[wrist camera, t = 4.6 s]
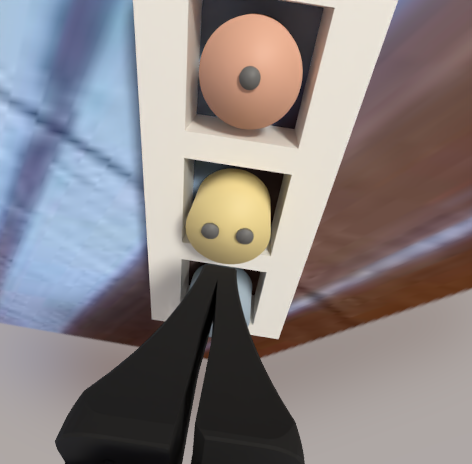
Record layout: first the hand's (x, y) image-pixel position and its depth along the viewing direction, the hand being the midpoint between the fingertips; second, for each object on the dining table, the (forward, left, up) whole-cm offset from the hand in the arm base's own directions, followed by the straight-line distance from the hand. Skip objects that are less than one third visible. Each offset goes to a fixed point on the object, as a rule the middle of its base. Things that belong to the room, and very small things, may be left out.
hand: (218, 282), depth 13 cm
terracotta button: (+5, +5, -8) cm, 11 cm away
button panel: (0, 0, -8) cm, 8 cm away
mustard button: (0, 0, -6) cm, 6 cm away
